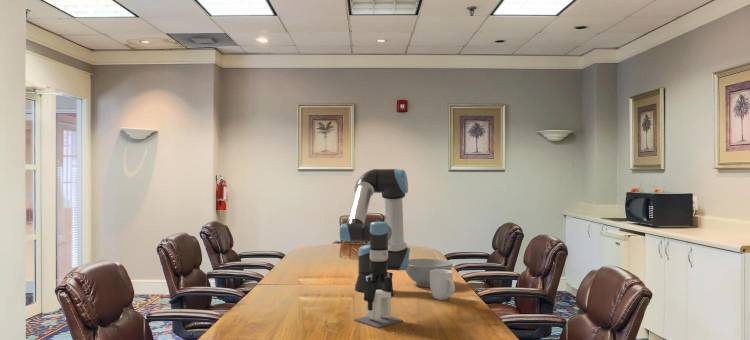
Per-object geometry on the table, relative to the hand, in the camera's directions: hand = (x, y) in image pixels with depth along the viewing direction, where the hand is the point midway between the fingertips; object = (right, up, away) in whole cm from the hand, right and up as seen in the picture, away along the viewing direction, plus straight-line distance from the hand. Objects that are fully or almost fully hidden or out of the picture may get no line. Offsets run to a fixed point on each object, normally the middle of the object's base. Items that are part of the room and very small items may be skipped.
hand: (378, 316), depth 209 cm
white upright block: (0, 0, 0) cm, 0 cm away
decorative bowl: (+27, -3, +70) cm, 76 cm away
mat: (0, -2, 0) cm, 2 cm away
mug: (+31, -3, +38) cm, 49 cm away
